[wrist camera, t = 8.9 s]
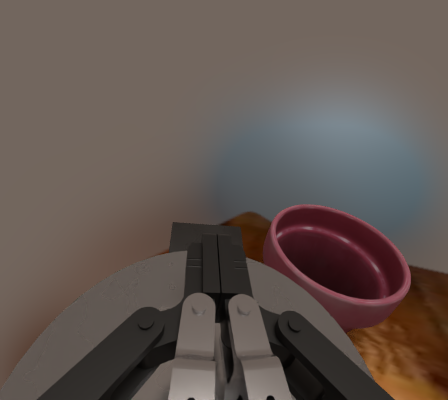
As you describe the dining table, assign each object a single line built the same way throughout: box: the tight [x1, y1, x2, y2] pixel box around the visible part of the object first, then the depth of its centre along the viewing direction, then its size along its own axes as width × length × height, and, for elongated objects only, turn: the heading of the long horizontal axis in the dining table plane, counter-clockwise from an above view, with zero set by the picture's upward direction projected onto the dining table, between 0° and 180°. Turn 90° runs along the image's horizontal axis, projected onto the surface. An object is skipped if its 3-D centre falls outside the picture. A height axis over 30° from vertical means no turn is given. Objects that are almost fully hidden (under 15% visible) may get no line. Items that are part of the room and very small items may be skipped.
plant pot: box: [263, 205, 411, 333], centre depth 30 cm, size 14×14×13 cm
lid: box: [0, 222, 374, 400], centre depth 12 cm, size 20×17×2 cm
